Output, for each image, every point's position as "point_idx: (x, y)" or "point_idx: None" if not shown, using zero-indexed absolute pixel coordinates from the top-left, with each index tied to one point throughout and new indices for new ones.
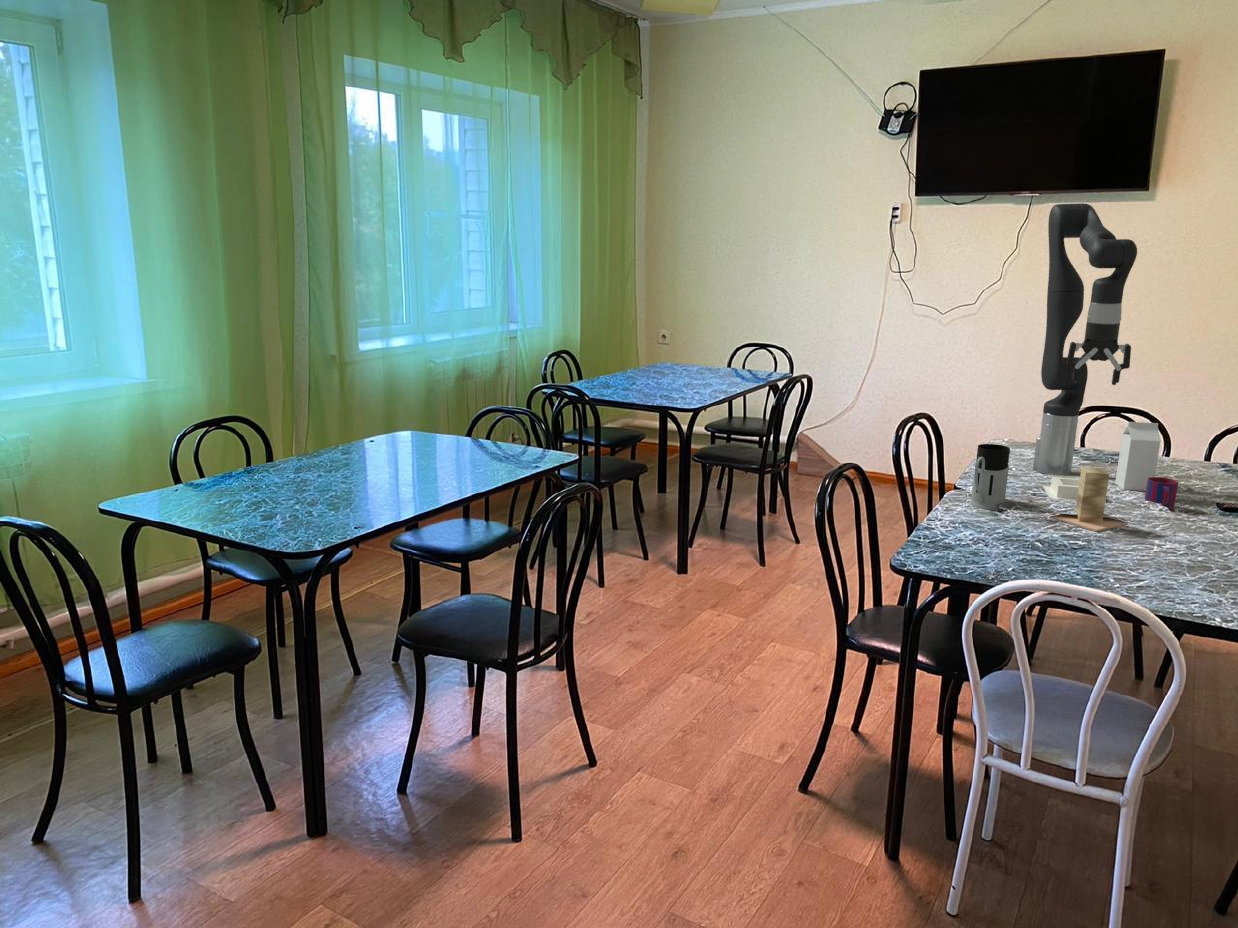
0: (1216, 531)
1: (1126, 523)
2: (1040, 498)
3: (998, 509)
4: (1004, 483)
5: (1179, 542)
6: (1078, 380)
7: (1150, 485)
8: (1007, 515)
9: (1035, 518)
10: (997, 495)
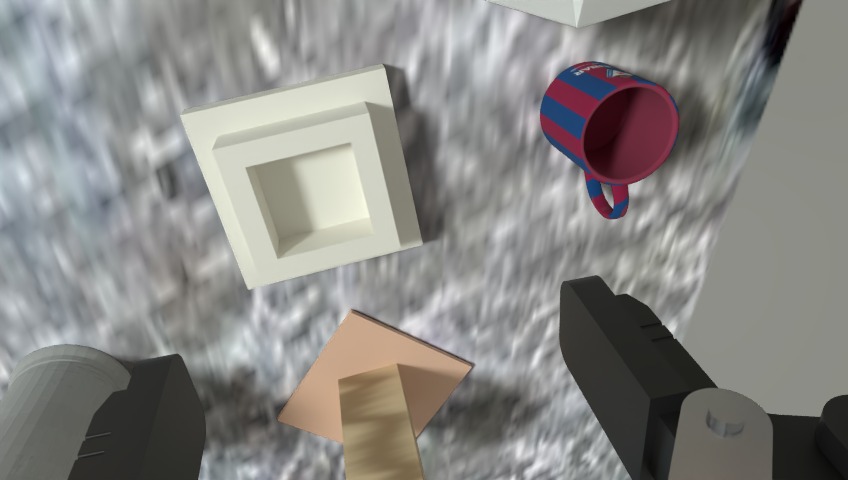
0: (672, 302)
1: (467, 371)
2: (206, 224)
3: None
4: None
5: (566, 429)
6: (194, 453)
7: (576, 161)
8: None
9: (241, 437)
10: None
